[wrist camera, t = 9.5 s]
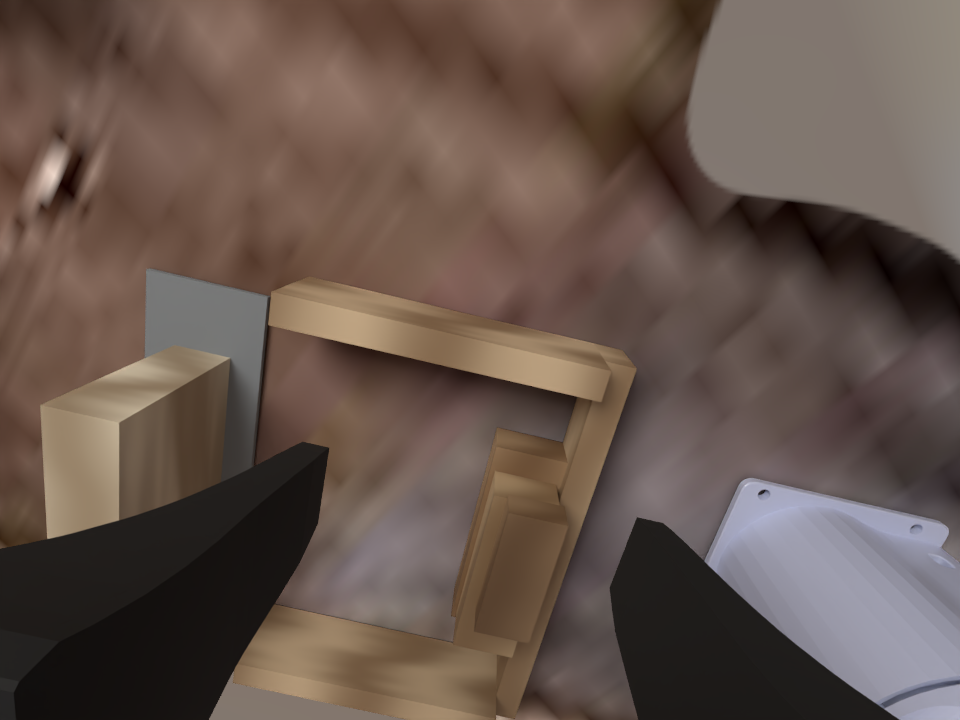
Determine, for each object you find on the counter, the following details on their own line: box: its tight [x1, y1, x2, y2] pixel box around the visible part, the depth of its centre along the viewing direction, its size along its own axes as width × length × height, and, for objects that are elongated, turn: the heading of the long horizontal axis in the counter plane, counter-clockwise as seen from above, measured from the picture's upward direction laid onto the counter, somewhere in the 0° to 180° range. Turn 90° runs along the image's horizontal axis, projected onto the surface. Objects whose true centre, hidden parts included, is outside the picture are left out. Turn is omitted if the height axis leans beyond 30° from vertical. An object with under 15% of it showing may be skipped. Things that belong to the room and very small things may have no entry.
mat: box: [145, 268, 270, 482], centre depth 23 cm, size 5×16×1 cm, turn 167°
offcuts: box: [451, 428, 568, 658], centre depth 21 cm, size 3×9×5 cm, turn 167°
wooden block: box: [40, 345, 230, 539], centre depth 20 cm, size 2×10×6 cm, turn 167°
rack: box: [233, 277, 637, 720], centre depth 22 cm, size 13×18×4 cm
